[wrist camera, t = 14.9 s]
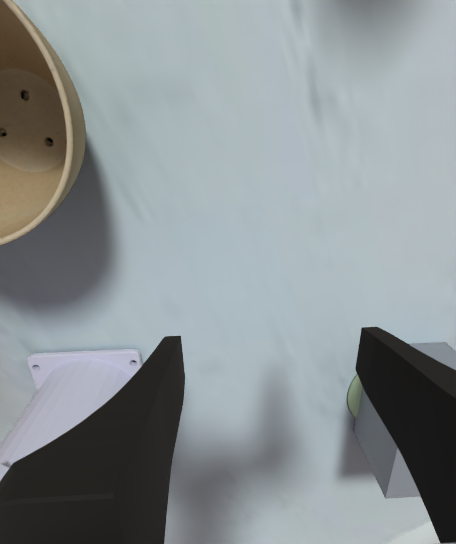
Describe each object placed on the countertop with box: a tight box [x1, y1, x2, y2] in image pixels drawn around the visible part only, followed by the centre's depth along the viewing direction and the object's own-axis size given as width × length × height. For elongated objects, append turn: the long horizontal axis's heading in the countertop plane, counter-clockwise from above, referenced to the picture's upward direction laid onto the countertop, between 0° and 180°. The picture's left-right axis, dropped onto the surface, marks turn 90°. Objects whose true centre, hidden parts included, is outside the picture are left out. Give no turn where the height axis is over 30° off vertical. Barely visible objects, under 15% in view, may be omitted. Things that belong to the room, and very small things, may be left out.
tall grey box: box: [354, 342, 456, 498], centre depth 23 cm, size 9×6×6 cm
